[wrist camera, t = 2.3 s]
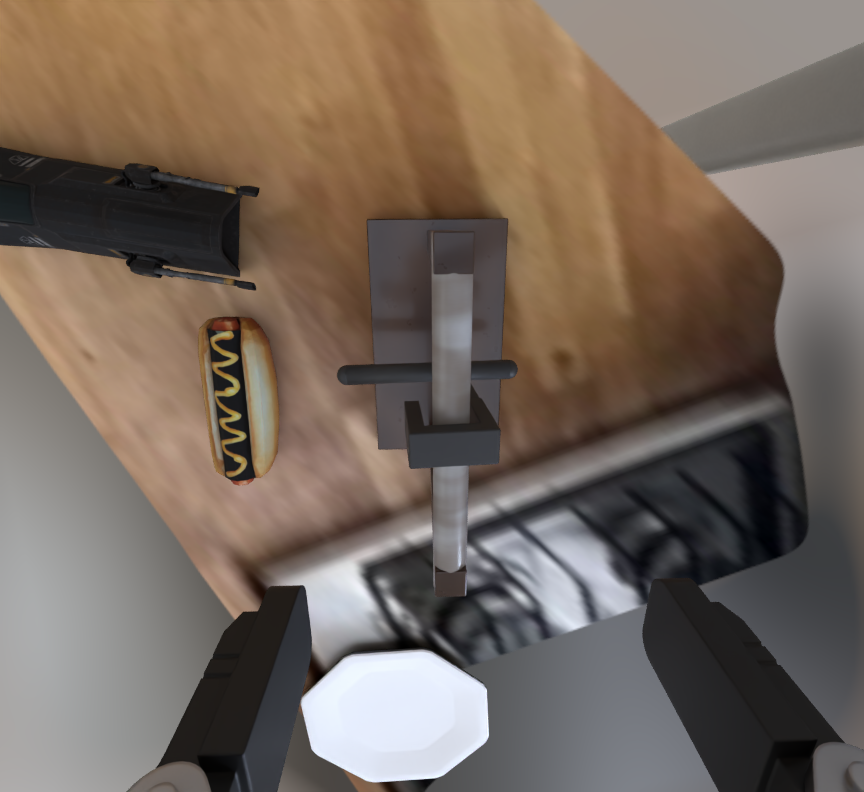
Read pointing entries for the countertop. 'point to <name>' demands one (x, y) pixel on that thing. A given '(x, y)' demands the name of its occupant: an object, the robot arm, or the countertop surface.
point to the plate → (396, 714)
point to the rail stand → (438, 347)
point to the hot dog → (239, 397)
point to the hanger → (440, 441)
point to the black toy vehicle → (123, 215)
